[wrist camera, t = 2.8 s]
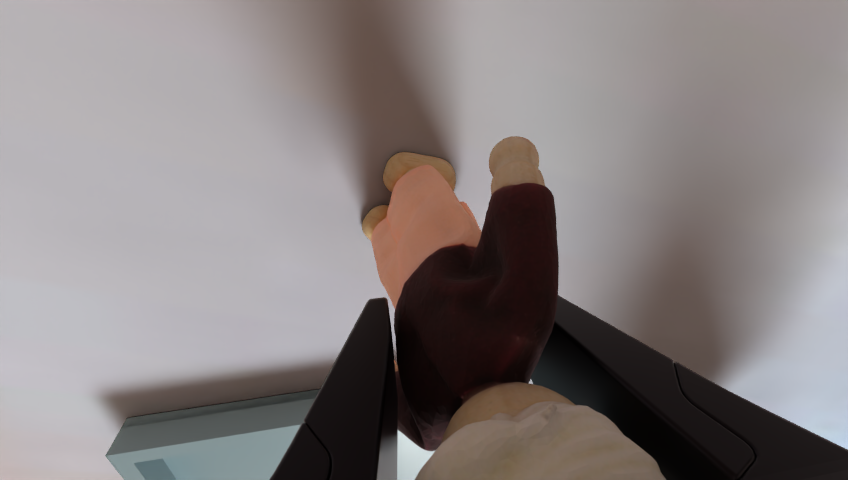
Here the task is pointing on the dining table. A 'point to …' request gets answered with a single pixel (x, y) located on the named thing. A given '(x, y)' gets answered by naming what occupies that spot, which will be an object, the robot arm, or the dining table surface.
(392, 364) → the robot arm
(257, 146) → the dining table surface
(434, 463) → the grandmother figurine
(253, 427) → the slate tray
